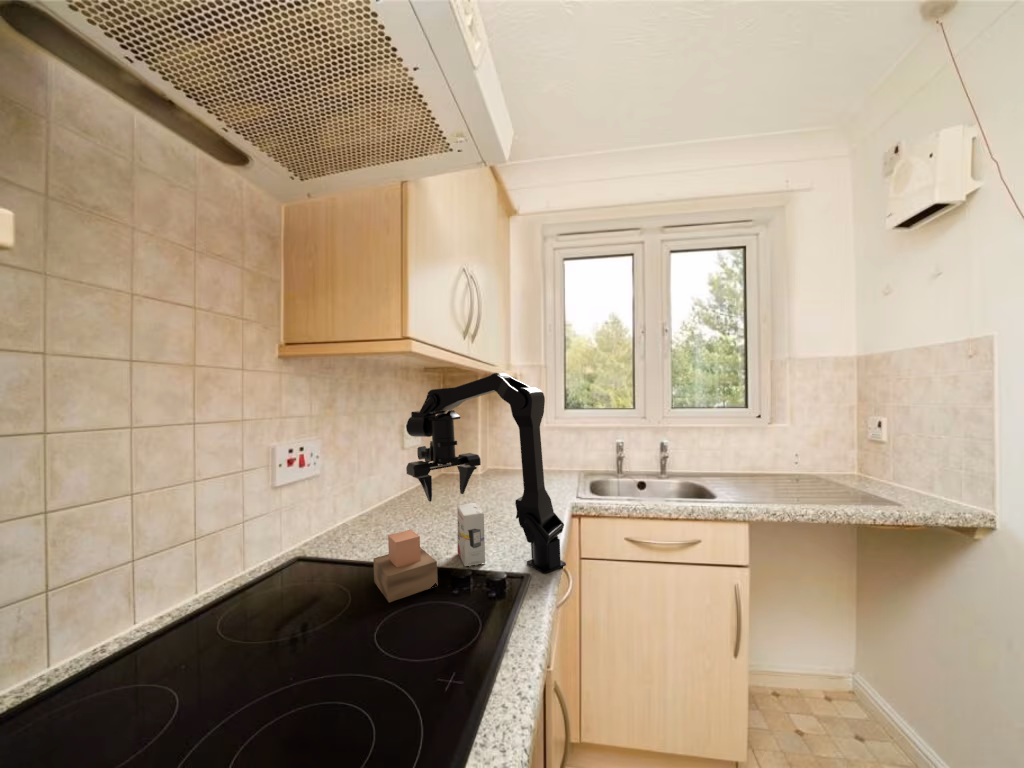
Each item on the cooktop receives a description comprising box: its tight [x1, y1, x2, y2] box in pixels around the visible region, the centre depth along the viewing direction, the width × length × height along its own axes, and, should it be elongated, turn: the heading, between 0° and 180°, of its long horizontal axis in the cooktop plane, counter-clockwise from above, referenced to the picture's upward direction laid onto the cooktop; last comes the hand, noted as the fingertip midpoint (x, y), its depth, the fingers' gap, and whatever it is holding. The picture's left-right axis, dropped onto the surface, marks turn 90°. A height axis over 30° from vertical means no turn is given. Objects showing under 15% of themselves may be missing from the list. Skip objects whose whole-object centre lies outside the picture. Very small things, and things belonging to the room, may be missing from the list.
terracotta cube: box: [387, 529, 421, 567], centre depth 82 cm, size 5×5×5 cm
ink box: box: [456, 502, 486, 567], centre depth 93 cm, size 9×5×12 cm, turn 19°
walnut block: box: [373, 546, 439, 603], centre depth 82 cm, size 10×10×5 cm
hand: (446, 497), depth 103 cm, fingers open, 9 cm apart
